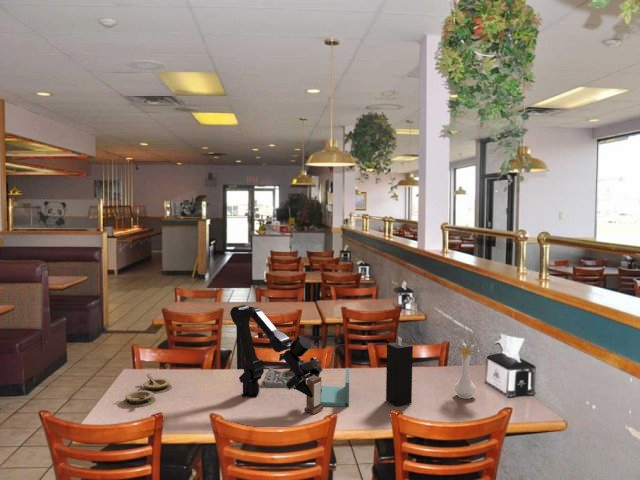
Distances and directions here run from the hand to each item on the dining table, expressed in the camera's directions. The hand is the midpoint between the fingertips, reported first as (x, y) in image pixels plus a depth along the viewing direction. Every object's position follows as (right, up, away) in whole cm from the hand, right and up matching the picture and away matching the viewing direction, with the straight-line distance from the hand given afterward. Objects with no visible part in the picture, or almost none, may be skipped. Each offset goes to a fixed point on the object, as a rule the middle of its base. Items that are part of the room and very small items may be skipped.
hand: (316, 394), depth 220 cm
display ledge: (+6, -6, +17) cm, 19 cm away
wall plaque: (-16, -5, +41) cm, 44 cm away
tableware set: (-74, -6, +18) cm, 76 cm away
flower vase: (+64, -6, +20) cm, 67 cm away
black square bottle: (+35, -7, +12) cm, 37 cm away
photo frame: (-1, -7, +1) cm, 7 cm away
